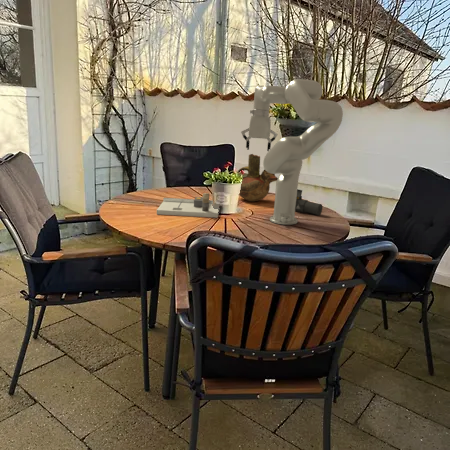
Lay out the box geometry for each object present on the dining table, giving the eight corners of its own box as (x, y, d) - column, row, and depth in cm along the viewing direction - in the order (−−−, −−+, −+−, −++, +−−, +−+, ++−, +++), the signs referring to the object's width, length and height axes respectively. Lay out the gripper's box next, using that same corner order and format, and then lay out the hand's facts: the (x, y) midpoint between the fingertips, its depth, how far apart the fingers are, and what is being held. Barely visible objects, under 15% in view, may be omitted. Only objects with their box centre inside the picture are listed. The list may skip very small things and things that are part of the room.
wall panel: (217, 217, 192) (218, 210, 191) (156, 214, 193) (156, 206, 192) (219, 205, 215) (220, 198, 214) (165, 202, 216) (165, 195, 215)
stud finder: (206, 207, 201) (206, 200, 200) (193, 206, 201) (194, 199, 200) (207, 203, 209) (207, 196, 208) (195, 202, 209) (195, 196, 208)
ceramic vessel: (269, 207, 217) (273, 158, 210) (225, 199, 229) (227, 153, 222) (281, 201, 232) (285, 156, 225) (239, 195, 244) (242, 151, 237)
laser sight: (314, 217, 203) (316, 197, 200) (274, 208, 216) (276, 189, 213) (323, 214, 210) (325, 194, 207) (284, 205, 223) (286, 187, 221)
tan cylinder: (208, 211, 194) (209, 194, 192) (201, 211, 194) (202, 194, 192) (208, 210, 197) (209, 193, 195) (202, 209, 197) (203, 192, 195)
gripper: (242, 112, 196) (239, 149, 201) (279, 115, 195) (276, 152, 200) (243, 112, 203) (240, 148, 208) (279, 114, 202) (275, 150, 207)
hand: (258, 150), depth 204 cm, fingers open, 9 cm apart
